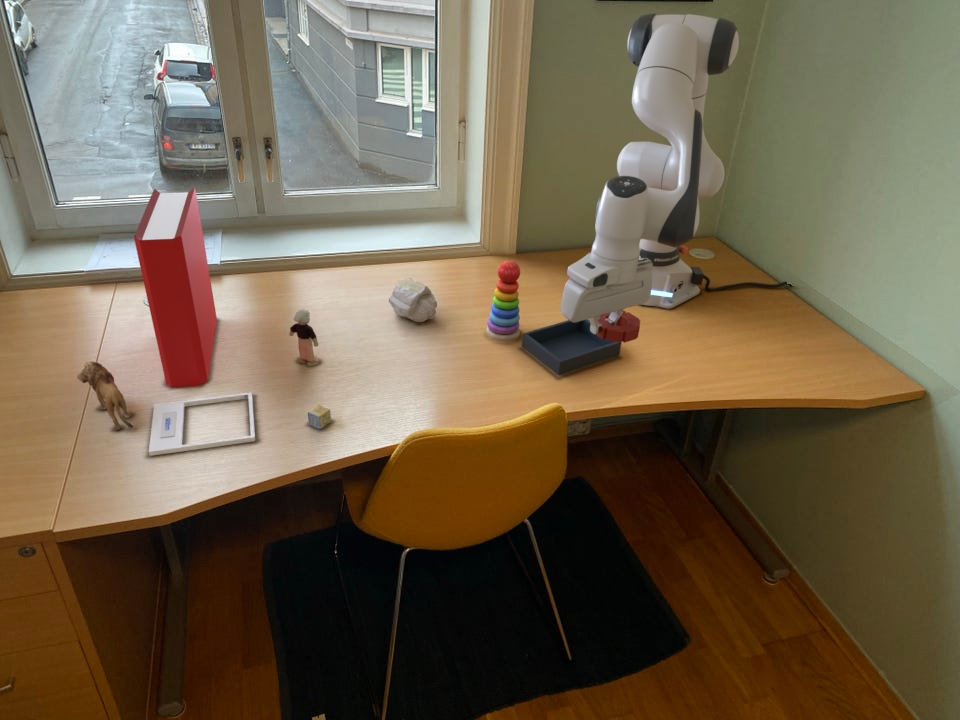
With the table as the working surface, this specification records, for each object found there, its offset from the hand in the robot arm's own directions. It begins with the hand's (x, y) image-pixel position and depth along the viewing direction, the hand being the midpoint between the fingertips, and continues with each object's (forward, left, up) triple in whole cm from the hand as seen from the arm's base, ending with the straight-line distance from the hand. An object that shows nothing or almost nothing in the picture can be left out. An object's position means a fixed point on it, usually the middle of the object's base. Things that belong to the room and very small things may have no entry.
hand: (602, 330), depth 143 cm
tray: (-7, -15, -16) cm, 23 cm away
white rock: (+17, -47, -16) cm, 53 cm away
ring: (-3, 0, -1) cm, 4 cm away
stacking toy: (+2, -29, -16) cm, 33 cm away
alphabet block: (+52, -18, -16) cm, 58 cm away
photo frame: (+72, -28, -16) cm, 79 cm away
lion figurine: (+85, -40, -16) cm, 96 cm away
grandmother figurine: (+46, -40, -16) cm, 64 cm away
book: (+67, -55, -16) cm, 88 cm away
